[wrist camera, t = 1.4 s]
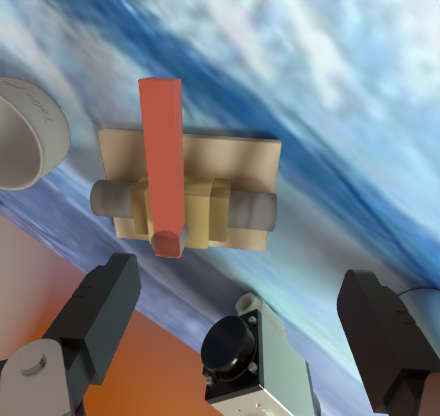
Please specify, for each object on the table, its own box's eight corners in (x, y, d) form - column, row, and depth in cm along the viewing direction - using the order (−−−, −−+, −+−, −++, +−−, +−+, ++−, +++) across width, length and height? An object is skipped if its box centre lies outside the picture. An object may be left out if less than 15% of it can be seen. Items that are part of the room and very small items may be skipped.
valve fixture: (280, 140, 31) (290, 168, 23) (264, 244, 38) (267, 293, 30) (103, 128, 32) (56, 151, 24) (121, 231, 40) (89, 274, 32)
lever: (189, 243, 28) (184, 259, 26) (159, 241, 28) (151, 256, 26) (186, 79, 20) (178, 81, 18) (145, 76, 21) (132, 79, 19)
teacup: (89, 98, 31) (42, 110, 24) (78, 178, 36) (37, 207, 29) (-35, 46, 29) (-123, 43, 22) (-27, 137, 35) (-97, 157, 28)
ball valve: (204, 285, 43) (179, 411, 28) (248, 264, 40) (246, 392, 25) (265, 347, 50) (271, 478, 34) (307, 332, 46) (335, 469, 31)
